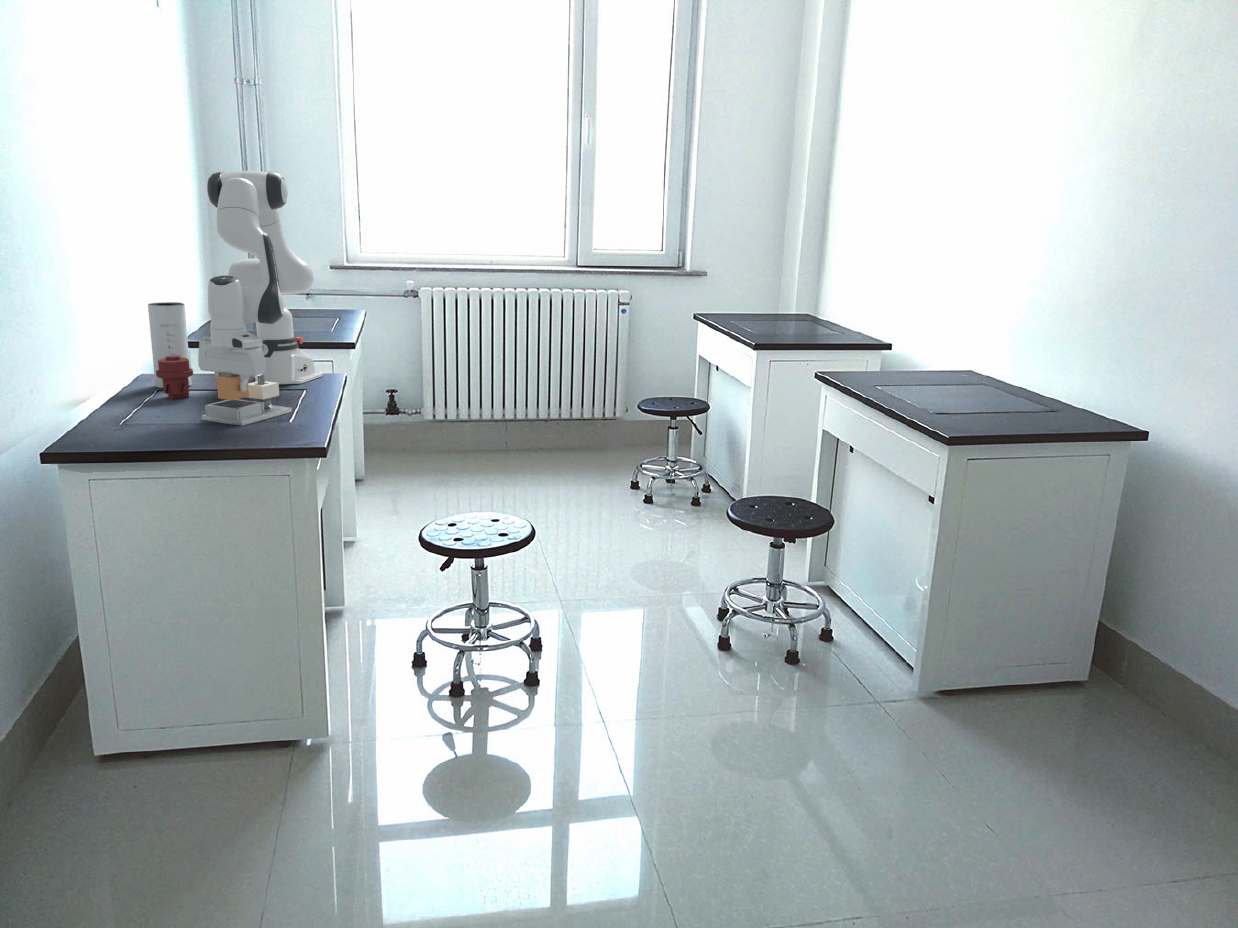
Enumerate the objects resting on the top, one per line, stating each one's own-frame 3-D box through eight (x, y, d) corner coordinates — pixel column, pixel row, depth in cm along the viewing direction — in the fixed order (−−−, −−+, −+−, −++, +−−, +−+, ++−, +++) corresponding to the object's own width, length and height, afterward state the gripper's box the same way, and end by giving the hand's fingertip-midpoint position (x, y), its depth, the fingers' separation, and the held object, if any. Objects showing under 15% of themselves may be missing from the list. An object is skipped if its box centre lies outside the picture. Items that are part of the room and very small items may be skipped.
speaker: (194, 382, 310) (186, 300, 303) (190, 388, 300) (181, 304, 293) (158, 383, 307) (149, 300, 300) (152, 389, 297) (143, 304, 290)
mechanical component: (202, 395, 292) (181, 401, 282) (172, 393, 293) (151, 399, 284) (198, 354, 288) (177, 359, 279) (168, 352, 290) (146, 357, 281)
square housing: (261, 393, 275) (260, 380, 274) (279, 395, 273) (278, 382, 272) (245, 397, 270) (244, 384, 269) (263, 399, 267) (262, 386, 266)
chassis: (253, 406, 278) (249, 366, 275) (291, 411, 273) (289, 371, 270) (202, 419, 261) (198, 377, 258) (242, 425, 256) (238, 382, 253)
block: (218, 398, 260) (215, 372, 258) (234, 394, 265) (232, 369, 263) (232, 400, 258) (230, 374, 256) (249, 396, 263) (247, 370, 261)
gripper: (190, 336, 258) (194, 387, 262) (249, 343, 251) (253, 395, 254) (208, 334, 264) (212, 384, 268) (267, 340, 256) (270, 391, 260)
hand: (233, 389), depth 261 cm, fingers closed on block, 5 cm apart
